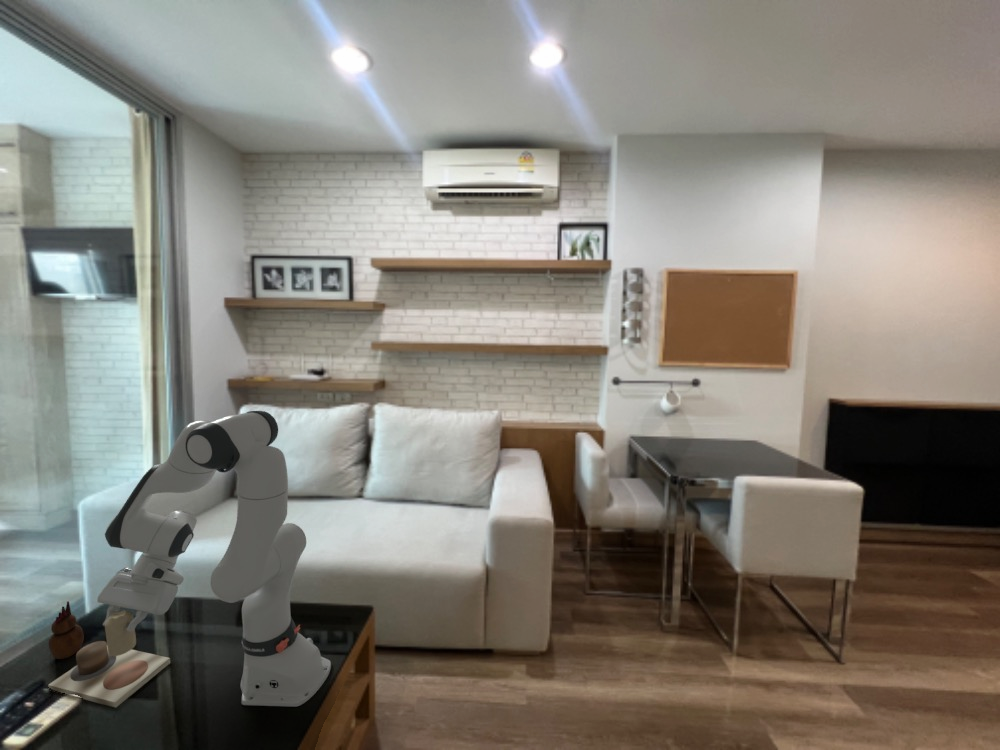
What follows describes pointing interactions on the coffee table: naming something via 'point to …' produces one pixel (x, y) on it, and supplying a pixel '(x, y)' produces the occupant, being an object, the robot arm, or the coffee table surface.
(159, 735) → the coffee table surface
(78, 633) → the wooden figurine
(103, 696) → the board
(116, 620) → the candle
